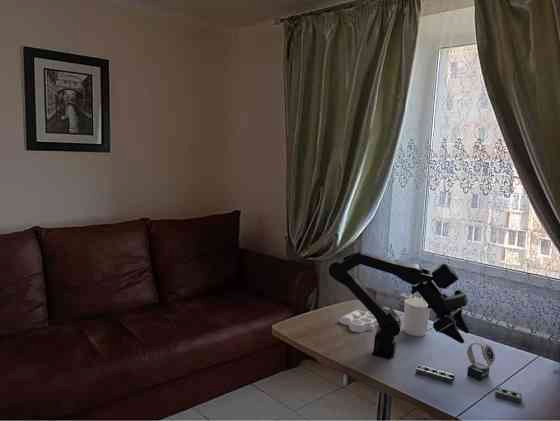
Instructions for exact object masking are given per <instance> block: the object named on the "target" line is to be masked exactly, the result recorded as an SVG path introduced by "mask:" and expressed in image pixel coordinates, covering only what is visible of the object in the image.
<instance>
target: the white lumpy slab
mask: <svg viewBox="0 0 560 421" xmlns="http://www.w3.org/2000/svg"><path fill="white" fill-rule="evenodd" d="M338 321H339V323H340V324H342V325H345V326H347V327H349V330H350V331H351V332H355V333H364V332H365V331H372V330H374V329H375V328H377V327H378V325H379V324H378V322H377V320H376V318H375V317H374V315H373V314H372V313H371V312H370V311H369V310H368V311H364V310H359V309H355V310H352V311H351V312H349V313H346V314H345V315H343V316H341V317H338Z"/></svg>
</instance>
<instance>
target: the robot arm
mask: <svg viewBox="0 0 560 421" xmlns="http://www.w3.org/2000/svg"><path fill="white" fill-rule="evenodd" d="M359 265H362V266H365V267H369V268H372V269H375V270H378V271H381V272H384V273H387V274H391V275H393V276H396V277H397V278H398V279H400V280H402V281H404V282H405V283H407V284H410V285H411V293H410V294H411V295H414V294H415V293H418V295H420V296H421V298H422V299H423V300H425V301H426V303H427V304H428V306H427V307H428V309H430V310H432V312H433V313H434V314H435V315H436V316H435V320H434V322H433V324H432V328H433V329H434V331H435V332H436V333H440V334H443V335H446V337H449V338H451V339H452V340H455V341H456V342H458V343H460V344H465V339H464V338H463V336H462V334H461V333H460V331H461V332H463V333H465V334H468V333H470V330H469V328H468V325H467V323H466V321H465V320H464V317H463V310H464V308H463V307H466V306H467V305H468V303H469V301H468V298H467V294H466V293H465V292H464V291H462V290H461V289H456V290H455V291H454V293H453V294H452V295H450V296H448V295H447V294H446V293H442V292H441V291H440V289H441V290H442V289H443V290H446V289H447V288H449V287H451V286H452V285H453V284H455V283H457V281H459V280H460V277H459V276H458V274H457V273H456V272H455V271H454V270H453V269H452V268H451V267H450V266H449V265H448V264H446V262H443V263H441V264H440V265H439V266H438V267H437V268H436V269H434V270H430V269H427V268H423V267H422V266H420V265H419V264H418V263H412V262H399V261H394V260H391V259H388V258H384V257H382V256H378V255H375V254H371V253H368V252H365V251H363V250H357V251H356V252H353V253H351V254H350V255H346V256H344V257H342V258H341V257H340V258H339V257H338V258H335V259H334V260H333V261H332V262H331V263H330V264H329V265H328V274H329V276H330V277H331V278H332V279H334V280H335V281H337V282H338V283H339V284H342V285H343V286H345V287H347V289H348V290H349V291H350V292H351V293H352V294H353V295H354V297H356V298H357V300H358V301H360V303H361V304H362V305H363V306H364V307H365V308H366V309H367V310H368V311H370V312H371V313H372V314H373V315H374V317H375V318H376V320H377V322H378V324H379V325H378V327H376V328H377V329H376V332H375V335H374V342H373V343H374V344H373V351H372V352H371V355H374V356H376V357H380V358H384V359H387V360H391V359H392V357H394V356H395V354H396V352H397V350H396V349H397V342H396V337H397V336H398V335H400V333H401V328H402V327H401V326H402V321H401V319H400V314H398V313H397V312H396V311H395V309H394V308H392V307H390V308H389V309H388V308H386V307H384V306H383V305H382V304H381V303H380V302H379V301H378V300H377V298H375V296H373V295H372V293H371V292H370V291H369V290H368V289H367V288H366V287H365V286H364V285H363V284H362V283H361V282H360V281H359V279H358V278H357V277H356V276H355V274H354V272H353V269H354V268H355V267H358V266H359ZM458 329H459V330H460V331H459V330H458Z"/></svg>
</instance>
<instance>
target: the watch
mask: <svg viewBox="0 0 560 421" xmlns="http://www.w3.org/2000/svg"><path fill="white" fill-rule="evenodd" d="M473 345H478V346H480V348H481V354H482V356H483V359H484V360H485V361H486V364H487V365H485V364H482V363H481V362H478V361H476V358H475V356H474V351H473V348H472V347H473ZM466 354H467V358H468V360H469V363H470V365H468V367H467V374H466V376H467V377H469V378H471V379H473V380H475V381H478V382H482V381H484V380H486V378H488V377H489V376H490V375H489V374H490V369H491V368H490V367H491V366H492V364H494V361H495V359H496V355H495V352H494V350H493V348H492V347H491V346H490V345H489V344H487V343H485V342H482V341H480V340H479V341H475V342H473V343H470V344H469V345H468V347H467V351H466Z"/></svg>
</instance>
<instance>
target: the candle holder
mask: <svg viewBox="0 0 560 421" xmlns="http://www.w3.org/2000/svg"><path fill="white" fill-rule="evenodd" d="M427 306H428V304H427V303H426V301H425V300H424V299H423V298H422V299H421V298H415V297H410V298H409V297H408V298H406V299H405V300H404V311H403V312H404V315H403V316H404V319H403V331H404V332H405V333H406V334H407V335H410V336H413V337H423V336H426V334H427V331H428V325H429V319H430V313H431V308H430V309H428V307H427Z"/></svg>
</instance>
